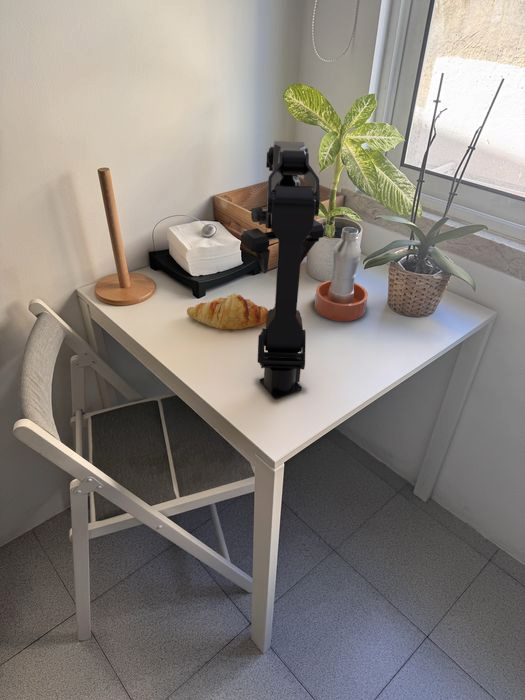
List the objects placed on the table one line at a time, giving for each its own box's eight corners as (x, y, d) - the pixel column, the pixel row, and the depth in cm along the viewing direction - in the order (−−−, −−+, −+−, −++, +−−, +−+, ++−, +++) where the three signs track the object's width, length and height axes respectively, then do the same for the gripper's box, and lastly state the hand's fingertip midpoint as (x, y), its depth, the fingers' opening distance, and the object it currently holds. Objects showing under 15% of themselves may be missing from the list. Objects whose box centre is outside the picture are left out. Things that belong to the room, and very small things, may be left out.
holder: (334, 326, 121) (336, 310, 119) (304, 301, 130) (306, 286, 127) (375, 313, 127) (378, 298, 124) (344, 290, 135) (346, 275, 133)
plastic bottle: (344, 296, 131) (355, 222, 119) (357, 309, 126) (370, 234, 114) (321, 300, 129) (330, 225, 117) (334, 314, 124) (345, 237, 112)
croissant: (186, 336, 122) (181, 320, 115) (190, 300, 126) (186, 282, 119) (274, 339, 121) (275, 323, 114) (276, 303, 125) (276, 285, 118)
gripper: (301, 185, 118) (296, 247, 128) (229, 197, 111) (229, 262, 120) (329, 201, 111) (321, 265, 120) (254, 215, 103) (252, 283, 112)
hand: (281, 268), depth 118 cm, fingers open, 9 cm apart
